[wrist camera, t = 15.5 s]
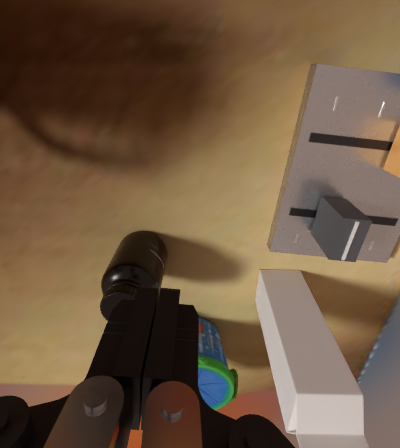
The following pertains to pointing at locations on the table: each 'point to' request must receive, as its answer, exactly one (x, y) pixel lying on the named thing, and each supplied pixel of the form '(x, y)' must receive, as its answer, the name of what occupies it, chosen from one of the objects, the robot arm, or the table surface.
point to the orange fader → (394, 157)
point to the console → (341, 159)
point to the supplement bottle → (133, 269)
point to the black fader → (340, 229)
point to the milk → (308, 365)
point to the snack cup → (214, 368)
